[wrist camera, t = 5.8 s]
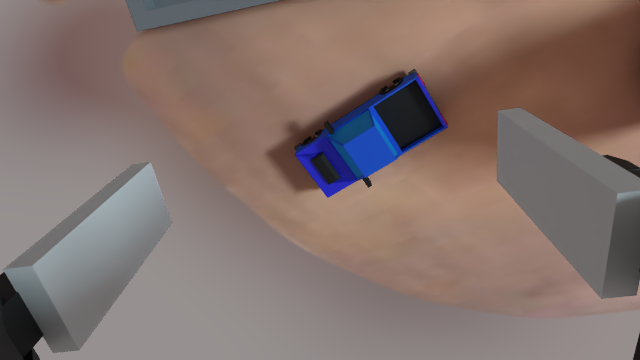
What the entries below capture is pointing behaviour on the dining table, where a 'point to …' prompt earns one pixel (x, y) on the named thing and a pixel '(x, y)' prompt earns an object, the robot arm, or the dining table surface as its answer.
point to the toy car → (371, 135)
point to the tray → (181, 10)
